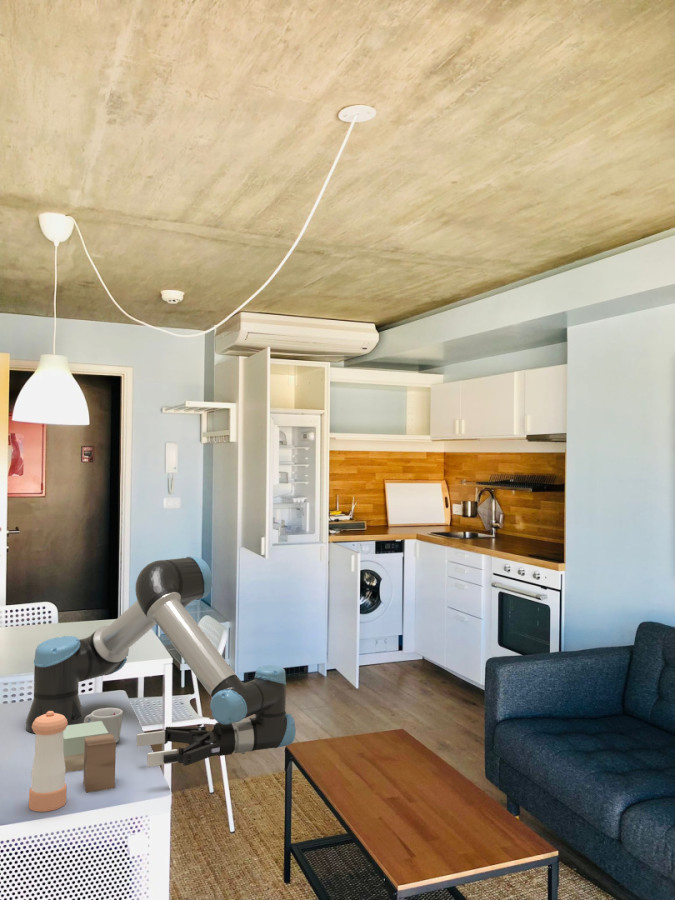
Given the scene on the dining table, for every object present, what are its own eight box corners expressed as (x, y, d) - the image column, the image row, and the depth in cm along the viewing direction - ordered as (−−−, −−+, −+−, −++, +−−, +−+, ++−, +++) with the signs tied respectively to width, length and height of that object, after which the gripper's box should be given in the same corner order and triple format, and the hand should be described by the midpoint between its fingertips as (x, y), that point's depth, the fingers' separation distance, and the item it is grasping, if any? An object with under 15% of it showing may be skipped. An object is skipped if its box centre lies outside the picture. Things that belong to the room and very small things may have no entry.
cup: (74, 745, 190) (75, 713, 190) (94, 735, 197) (95, 704, 197) (109, 750, 186) (109, 718, 186) (128, 740, 193) (129, 709, 194)
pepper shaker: (35, 797, 158) (38, 706, 159) (70, 796, 158) (72, 706, 159) (23, 812, 150) (26, 717, 151) (60, 811, 151) (62, 716, 152)
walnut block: (83, 782, 166) (84, 737, 166) (111, 778, 168) (112, 733, 169) (86, 792, 160) (87, 745, 161) (114, 788, 163) (115, 742, 163)
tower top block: (58, 743, 181) (59, 726, 181) (101, 737, 185) (101, 720, 185) (63, 756, 172) (64, 739, 172) (108, 749, 176) (108, 732, 176)
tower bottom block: (58, 759, 180) (59, 742, 181) (101, 753, 185) (101, 737, 185) (61, 774, 171) (62, 756, 172) (106, 767, 175) (107, 750, 176)
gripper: (247, 771, 166) (152, 787, 157) (217, 737, 188) (132, 748, 180) (248, 737, 166) (153, 751, 157) (218, 707, 189) (133, 717, 180)
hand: (142, 749), depth 168 cm, fingers open, 13 cm apart
